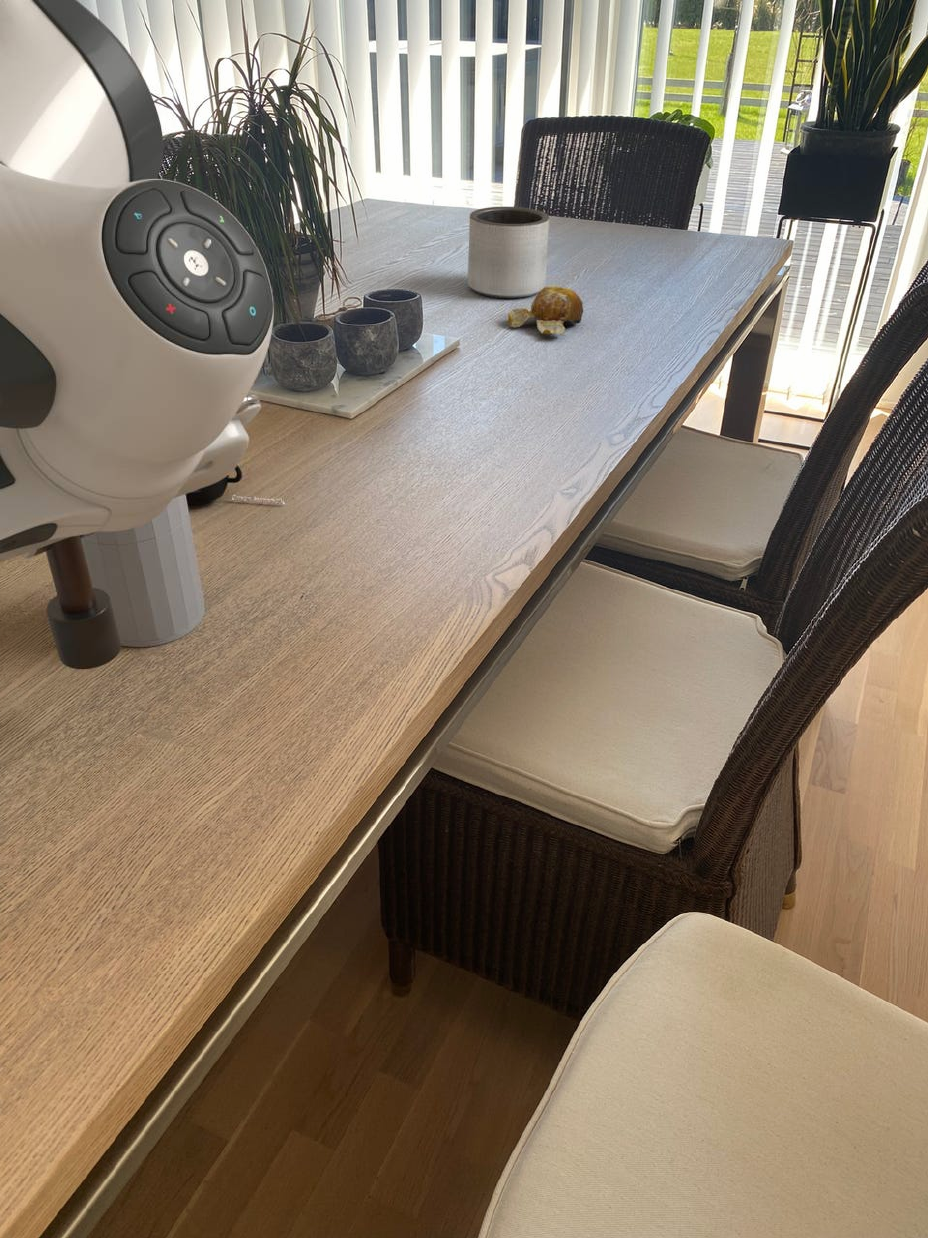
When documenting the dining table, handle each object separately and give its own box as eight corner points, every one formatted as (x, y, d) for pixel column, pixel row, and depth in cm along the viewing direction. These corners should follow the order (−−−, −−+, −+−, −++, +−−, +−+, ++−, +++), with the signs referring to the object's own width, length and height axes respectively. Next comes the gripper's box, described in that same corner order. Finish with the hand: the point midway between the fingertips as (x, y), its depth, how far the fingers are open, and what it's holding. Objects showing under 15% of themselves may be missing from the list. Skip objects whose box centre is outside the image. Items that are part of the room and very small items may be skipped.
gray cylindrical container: (112, 659, 74) (78, 525, 67) (86, 604, 80) (52, 476, 73) (219, 627, 77) (197, 497, 70) (186, 577, 83) (163, 452, 76)
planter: (550, 280, 157) (555, 208, 150) (538, 303, 147) (542, 227, 140) (477, 274, 159) (478, 203, 153) (459, 296, 149) (460, 221, 143)
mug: (156, 510, 93) (142, 440, 88) (180, 481, 98) (167, 413, 93) (275, 520, 91) (267, 449, 87) (293, 489, 96) (286, 421, 92)
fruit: (498, 322, 138) (499, 289, 136) (546, 307, 145) (548, 276, 142) (554, 339, 132) (556, 305, 130) (601, 323, 139) (604, 290, 136)
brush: (66, 676, 62) (4, 455, 53) (53, 644, 65) (-8, 428, 56) (127, 658, 64) (78, 441, 55) (113, 628, 67) (63, 416, 58)
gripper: (243, 340, 55) (176, 442, 66) (-137, 444, 43) (-140, 547, 54) (296, 436, 55) (220, 522, 66) (-67, 566, 43) (-85, 644, 54)
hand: (56, 534), depth 60 cm, fingers closed on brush, 2 cm apart
